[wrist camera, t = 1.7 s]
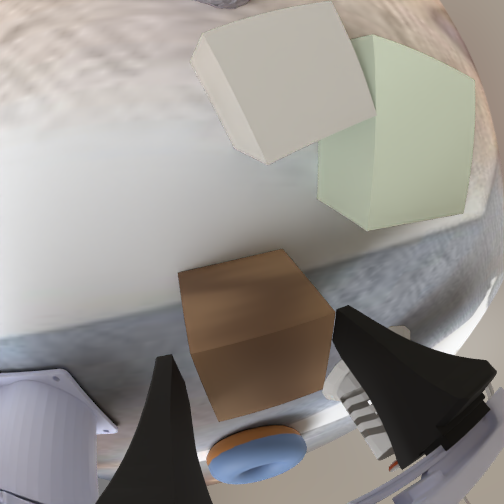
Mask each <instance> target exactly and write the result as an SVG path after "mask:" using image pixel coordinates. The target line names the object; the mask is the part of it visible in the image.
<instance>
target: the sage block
mask: <svg viewBox="0 0 504 504" xmlns="http://www.w3.org/2000/svg"><path fill="white" fill-rule="evenodd" d="M350 41H351V43H352V46H353V48H354V51H355V53H356V55H357V58H358V61H359V63H360V66H361V68H362V71H363V74H364V77H365V79H366V82H367V85H368V88H369V91H370V94H371V97H372V101H373V104H374V107H375V110H376V114H377V116H374V117H372V118H369V119H367V120H365V121H362V122H360V123H357V124H355V125H353V126H350V127H348V128H346V129H344V130H341V131H339V132H337V133H335V134H332V135H330V136H328V137H326V138H324V139H321V140H319V141H318V183H317V200H319V201H321V202H322V203H324V204H326V205H327V206H329V207H330V208H332V209H334V210H335V211H337V212H338V213H340V214H341V215H343V216H344V217H346V218H348V219H349V220H351V221H352V222H354V223H355V224H357V225H358V226H360V227H361V228H363V229H364V230H366V231H371V230H376V229H382V228H387V227H392V226H398V225H403V224H409V223H414V222H420V221H425V220H430V219H436V218H441V217H447V216H452V215H457V214H463V212H464V207H465V202H466V197H467V191H468V185H469V179H470V172H471V164H472V156H473V145H474V131H475V80H474V79H472V78H470V77H469V76H467V75H465V74H463V73H462V72H460V71H458V70H456V69H454V68H452V67H450V66H449V65H447V64H445V63H443V62H441V61H439V60H436V59H434V58H432V57H430V56H428V55H426V54H423V53H421V52H419V51H417V50H414V49H412V48H409V47H407V46H404V45H402V44H399V43H396V42H394V41H391V40H388V39H385V38H382V37H379V36H376V35H373V34H372V35H368V36H363V37H359V38H355V39H351V40H350Z"/></svg>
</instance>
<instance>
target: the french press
mask: <svg viewBox="0 0 504 504" xmlns="http://www.w3.org/2000/svg"><path fill="white" fill-rule="evenodd" d="M388 329H390V330H391V331H393V332H395V333H397V334H399V335H401V336H403V337H405V338H407V339H409V340H410V330H408V329H407V328H406V327H405V326H391V327H389V328H388ZM488 387H489V389H488ZM485 390H486V393H487V395H488V400H489V399H490V398H491V397H492V396H493V395H494V390H493V388H492V385H491V383H489V385H488V386H487V387H486V388H485ZM489 390H490V392H489ZM322 393H323V394H324V396H325V397H326V398H327V399H329V400H335V401H341V402H342V403H343V405H344V407H345V408H346V410H347V412H348V413H349V415H350V417H351V418H352V420H353V421H354V423H355V424H356V426H357V428H358V429H359V431H360V432H361V434H362V436H363V437H364V439H365V441H366V442H367V444H368V445H369V447H370V449H371V450H372V452H373V453H374V455H375V456H376V458H377V459H378V460H383V459H385V458H387V457H389V456H391V455H392V454H394V450H393V448H392V445H391V442H390V440H389V437H388V435H387V433H386V430H385V428H384V426H383V424H382V422H381V420H380V418H379V416H378V414H377V415H376V414H375V412H376V410H375V408H374V406H373V404H371V405H369V403H368V402H367V401H368V400H370V399H369V397H368V395H367V394H366V392H365V391H364V390H363V388H362V387H361V385H360V384H359V382H358V381H357V380H356V378H355V377H354V375H353V374H352V373H351V371H350V370H349V368H348V367H347V365H346V364H345V363H344V361H343V360H341V361H340V362H339V363H338V364H337V365H336V366H335V367H334V368H333V370H332V371H331V373H330V374H329V376H328V377H327V379H326V380H325V382H324V387H323V391H322ZM490 393H491V395H490ZM398 468H400V467H399V464H398V462H397V459H396V460H395V461H394V462H393V463H392V464H391V465H390V467H389V471H390V472H393V471H395V470H397V469H398ZM464 500H465V501H466V503H467V504H470V503H469V501H468V500H467V498H466V497H464Z"/></svg>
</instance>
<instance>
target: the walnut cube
mask: <svg viewBox="0 0 504 504" xmlns="http://www.w3.org/2000/svg"><path fill="white" fill-rule="evenodd" d="M178 278H179V285H180V293H181V300H182V307H183V313H184V320H185V326H186V332H187V338H188V343H189V349H190V354H191V357H192V359H193V362H194V365H195V367H196V370H197V372H198V375H199V377H200V380H201V382H202V384H203V387H204V389H205V392H206V394H207V396H208V399H209V401H210V403H211V405H212V408H213V410H214V412H215V414H216V417H217V419H218V421H219V422H220V421H224V420H228V419H232V418H236V417H240V416H244V415H247V414H251V413H255V412H258V411H261V410H265V409H268V408H271V407H274V406H277V405H280V404H283V403H286V402H289V401H292V400H295V399H298V398H301V397H303V396H306V395H309V394H311V393H314V392H316V391H319V390H322V389H323V386H324V381H325V375H326V370H327V365H328V359H329V353H330V347H331V340H332V334H333V327H334V320H335V311H334V310H333V309H332V307H331V306H330V305H329V304H328V303H327V301H326V300H325V299H324V298H323V296H322V295H321V294H320V293H319V292H318V290H317V289H316V288H315V287H314V286H313V284H312V283H311V282H310V281H309V280H308V278H307V277H306V276H305V275H304V274H303V272H302V271H301V270H300V269H299V268H298V266H297V265H296V264H295V263H294V262H293V261H292V259H291V258H290V257H289V256H288V255H287V253H286V252H285V251H284V250H283V249H279V250H275V251H271V252H266V253H262V254H258V255H253V256H249V257H245V258H240V259H236V260H232V261H227V262H223V263H219V264H214V265H210V266H205V267H201V268H197V269H192V270H188V271H184V272H179V273H178Z"/></svg>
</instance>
